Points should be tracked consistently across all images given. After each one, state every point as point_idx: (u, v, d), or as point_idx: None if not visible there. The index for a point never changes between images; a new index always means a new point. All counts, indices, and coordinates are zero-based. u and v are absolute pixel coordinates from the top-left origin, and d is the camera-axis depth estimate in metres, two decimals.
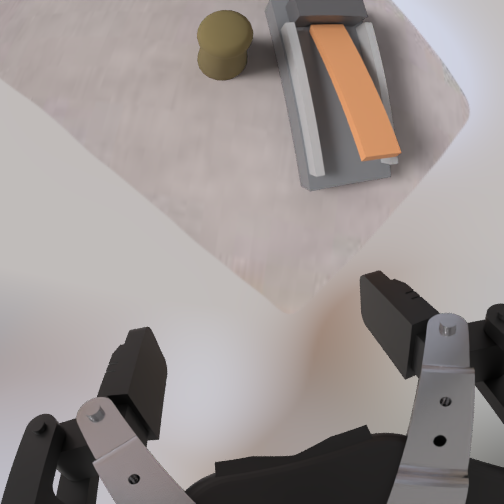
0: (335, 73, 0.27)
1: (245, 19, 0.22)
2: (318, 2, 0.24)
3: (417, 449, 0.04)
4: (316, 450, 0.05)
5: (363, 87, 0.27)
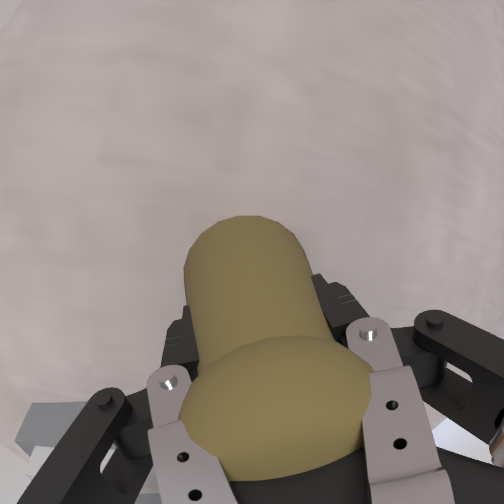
0: None
1: None
2: None
3: (417, 449, 0.04)
4: None
5: None
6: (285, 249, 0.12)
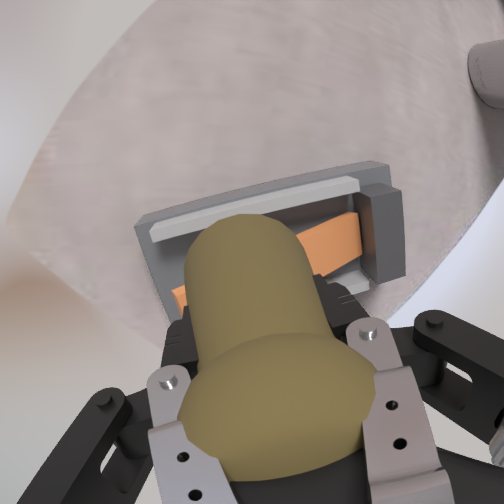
0: None
1: None
2: (390, 221, 0.24)
3: (417, 449, 0.04)
4: None
5: None
6: (286, 247, 0.12)
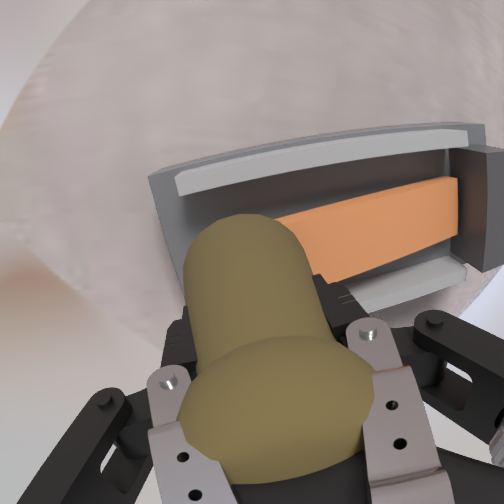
0: (373, 202, 0.16)
1: None
2: (502, 188, 0.15)
3: (417, 449, 0.04)
4: None
5: (347, 254, 0.16)
6: (285, 248, 0.12)
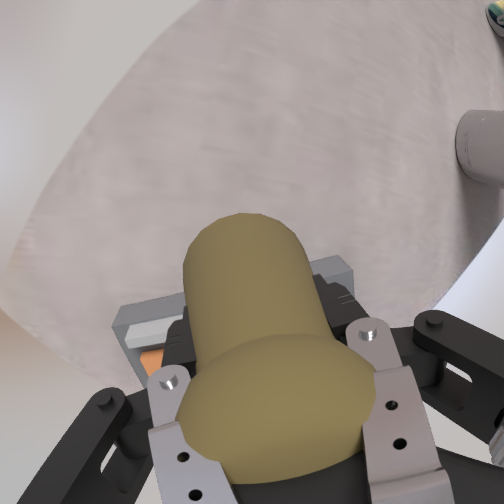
0: None
1: None
2: None
3: (417, 449, 0.04)
4: None
5: None
6: (286, 247, 0.12)
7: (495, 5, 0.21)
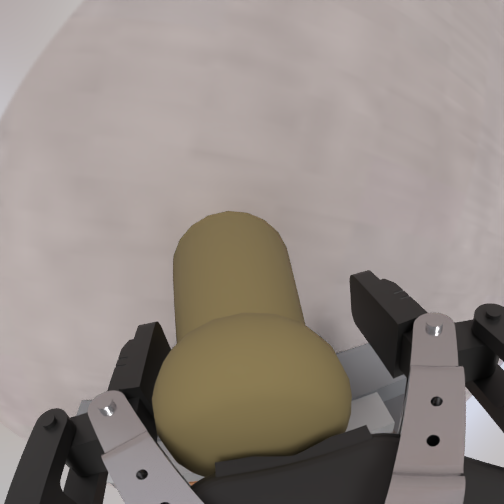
0: None
1: None
2: None
3: (417, 449, 0.04)
4: (316, 450, 0.05)
5: None
6: (267, 243, 0.13)
7: None
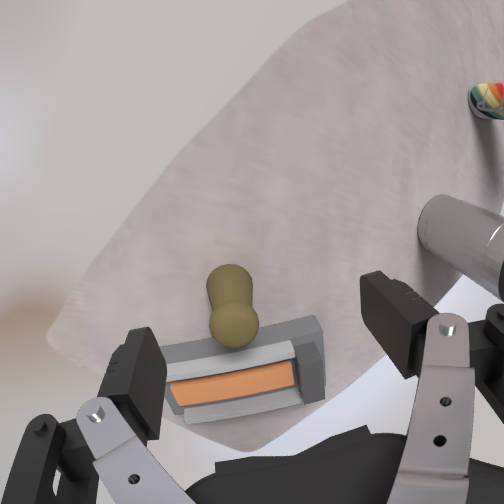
0: (236, 377, 0.40)
1: None
2: (313, 375, 0.38)
3: (417, 449, 0.04)
4: (316, 450, 0.05)
5: (226, 392, 0.41)
6: (242, 278, 0.38)
7: (477, 90, 0.32)
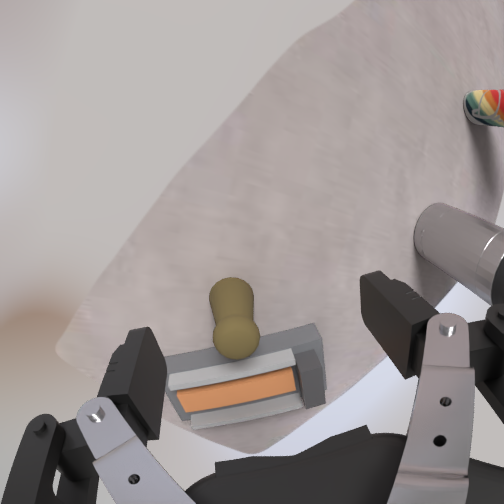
0: (240, 385, 0.41)
1: (247, 356, 0.33)
2: (313, 381, 0.39)
3: (417, 449, 0.04)
4: (316, 450, 0.05)
5: (231, 398, 0.42)
6: (243, 291, 0.39)
7: (473, 97, 0.33)
